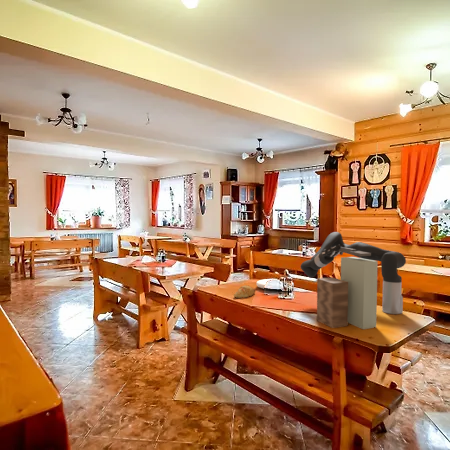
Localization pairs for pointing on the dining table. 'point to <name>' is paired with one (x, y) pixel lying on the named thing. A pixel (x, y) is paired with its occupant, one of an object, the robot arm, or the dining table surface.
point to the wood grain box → (332, 302)
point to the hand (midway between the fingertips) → (342, 246)
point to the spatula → (354, 251)
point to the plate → (262, 283)
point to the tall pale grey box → (361, 290)
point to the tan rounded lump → (244, 291)
